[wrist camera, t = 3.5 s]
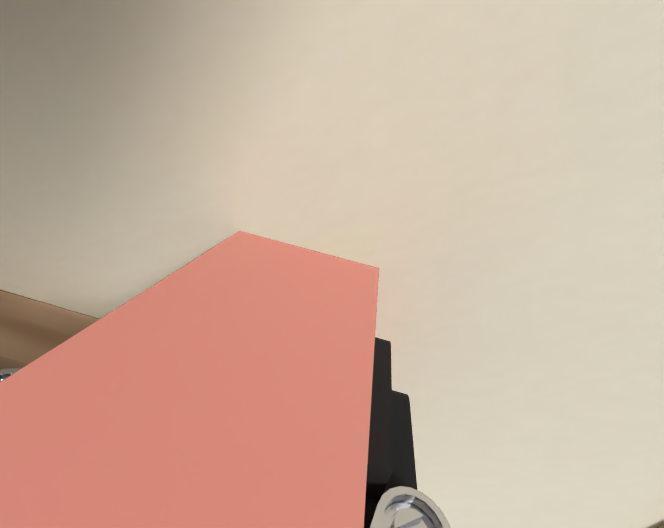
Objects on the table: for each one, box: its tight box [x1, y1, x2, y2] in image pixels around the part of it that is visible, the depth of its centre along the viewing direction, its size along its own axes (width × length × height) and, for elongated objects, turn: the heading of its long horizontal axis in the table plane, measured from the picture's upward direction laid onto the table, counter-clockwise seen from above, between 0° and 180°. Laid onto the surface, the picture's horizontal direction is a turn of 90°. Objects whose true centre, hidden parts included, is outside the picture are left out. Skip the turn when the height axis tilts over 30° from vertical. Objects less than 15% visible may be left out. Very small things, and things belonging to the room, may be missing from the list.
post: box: [0, 231, 379, 528], centre depth 8 cm, size 5×5×9 cm
